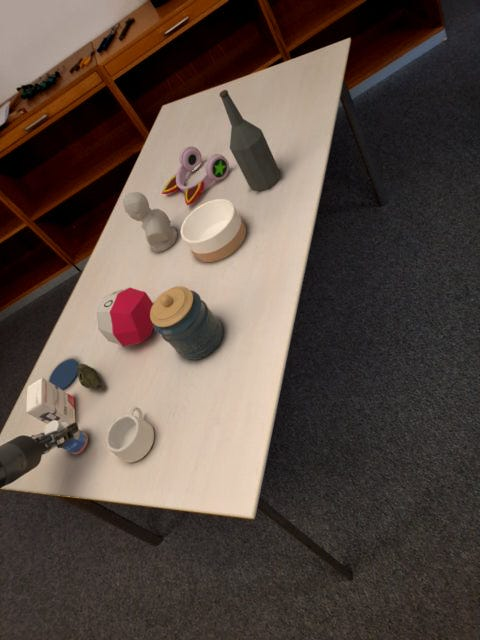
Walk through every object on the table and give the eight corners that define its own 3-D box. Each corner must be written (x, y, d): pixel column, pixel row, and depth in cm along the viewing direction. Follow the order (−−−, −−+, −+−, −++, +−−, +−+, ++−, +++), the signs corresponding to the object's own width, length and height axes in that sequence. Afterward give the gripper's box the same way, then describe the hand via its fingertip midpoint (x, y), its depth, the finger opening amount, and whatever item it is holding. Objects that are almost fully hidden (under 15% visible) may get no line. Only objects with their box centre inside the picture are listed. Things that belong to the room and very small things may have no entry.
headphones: (224, 149, 144) (178, 184, 139) (234, 176, 151) (190, 209, 146) (192, 141, 157) (149, 172, 152) (203, 165, 164) (161, 196, 159)
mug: (149, 463, 96) (132, 454, 91) (114, 463, 100) (97, 454, 96) (162, 412, 102) (148, 401, 98) (129, 413, 107) (114, 403, 102)
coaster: (48, 396, 123) (47, 396, 123) (52, 368, 130) (50, 367, 129) (77, 383, 121) (76, 382, 121) (80, 355, 128) (78, 354, 127)
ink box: (59, 405, 119) (26, 385, 111) (74, 396, 118) (42, 376, 110) (60, 432, 113) (24, 413, 105) (76, 422, 113) (41, 403, 104)
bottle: (270, 166, 142) (229, 77, 120) (286, 175, 135) (246, 83, 114) (245, 185, 142) (200, 100, 120) (260, 196, 135) (215, 107, 113)
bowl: (237, 210, 135) (225, 189, 129) (253, 241, 124) (241, 220, 118) (189, 239, 138) (175, 219, 132) (201, 272, 126) (186, 252, 120)
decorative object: (132, 311, 105) (78, 309, 109) (148, 358, 114) (97, 354, 118) (156, 278, 117) (106, 277, 121) (169, 323, 125) (122, 321, 129)
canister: (219, 309, 114) (185, 265, 101) (228, 348, 105) (191, 304, 93) (176, 330, 116) (137, 289, 104) (181, 369, 108) (139, 330, 95)
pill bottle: (69, 458, 107) (39, 443, 100) (70, 438, 110) (42, 422, 103) (88, 449, 106) (59, 434, 99) (89, 429, 109) (61, 413, 102)
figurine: (152, 259, 140) (114, 215, 126) (152, 234, 148) (116, 190, 134) (178, 247, 138) (142, 201, 124) (176, 223, 146) (143, 176, 132)
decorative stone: (75, 393, 119) (62, 385, 115) (86, 368, 123) (74, 359, 119) (105, 394, 114) (93, 385, 110) (116, 368, 118) (104, 358, 114)
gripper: (31, 438, 87) (85, 408, 103) (-21, 449, 92) (38, 418, 107) (43, 473, 87) (95, 438, 103) (-9, 483, 92) (48, 447, 108)
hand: (66, 428), depth 105 cm, fingers closed on pill bottle, 5 cm apart
